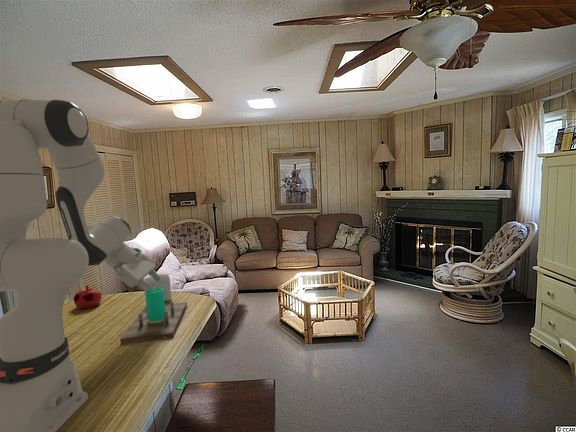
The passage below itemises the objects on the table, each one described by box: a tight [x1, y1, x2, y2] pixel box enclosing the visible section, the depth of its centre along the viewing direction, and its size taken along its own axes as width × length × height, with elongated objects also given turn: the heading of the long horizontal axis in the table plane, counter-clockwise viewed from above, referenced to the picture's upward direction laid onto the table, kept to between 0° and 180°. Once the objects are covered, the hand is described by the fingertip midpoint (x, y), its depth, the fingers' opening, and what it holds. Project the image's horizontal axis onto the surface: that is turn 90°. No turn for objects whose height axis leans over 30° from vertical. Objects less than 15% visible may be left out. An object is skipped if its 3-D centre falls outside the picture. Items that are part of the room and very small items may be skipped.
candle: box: [144, 288, 166, 322], centre depth 108 cm, size 6×6×12 cm
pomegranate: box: [72, 284, 102, 310], centre depth 128 cm, size 10×10×9 cm
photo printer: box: [144, 273, 172, 305], centre depth 128 cm, size 10×4×12 cm, turn 123°
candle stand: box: [119, 301, 188, 344], centre depth 109 cm, size 26×16×6 cm, turn 9°
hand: (155, 284), depth 108 cm, fingers open, 8 cm apart
